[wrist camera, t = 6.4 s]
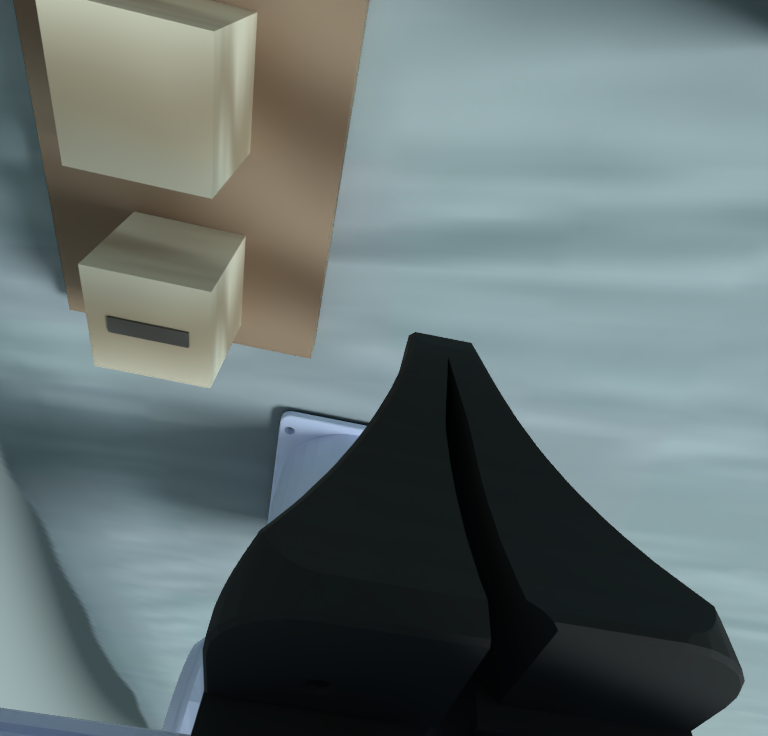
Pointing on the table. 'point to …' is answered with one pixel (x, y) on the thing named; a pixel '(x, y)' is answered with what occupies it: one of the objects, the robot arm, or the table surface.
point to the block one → (164, 298)
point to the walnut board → (251, 179)
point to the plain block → (151, 88)
